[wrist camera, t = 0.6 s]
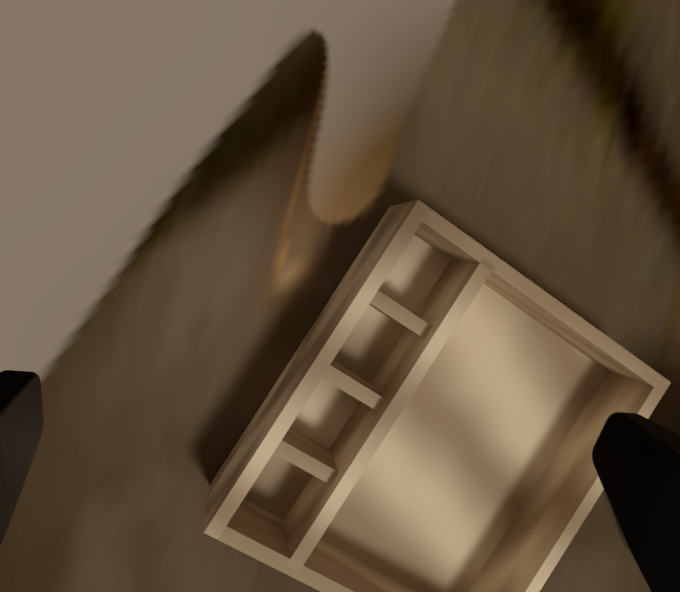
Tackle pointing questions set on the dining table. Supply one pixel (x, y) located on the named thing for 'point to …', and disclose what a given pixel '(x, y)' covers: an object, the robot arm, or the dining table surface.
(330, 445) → the tray
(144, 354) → the dining table surface
